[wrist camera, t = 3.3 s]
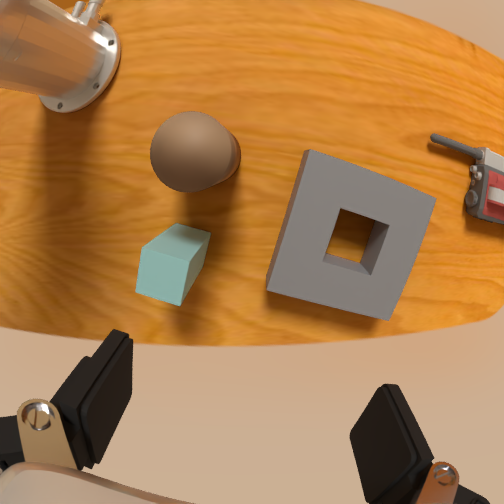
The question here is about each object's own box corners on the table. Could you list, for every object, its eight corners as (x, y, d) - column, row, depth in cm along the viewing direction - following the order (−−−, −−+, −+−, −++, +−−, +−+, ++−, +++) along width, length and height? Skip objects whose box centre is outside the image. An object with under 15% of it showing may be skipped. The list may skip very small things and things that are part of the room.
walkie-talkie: (528, 172, 29) (426, 128, 29) (548, 175, 25) (445, 125, 25) (519, 230, 31) (416, 202, 31) (538, 238, 27) (435, 207, 27)
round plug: (192, 121, 30) (162, 104, 20) (247, 134, 30) (240, 121, 20) (177, 175, 31) (142, 182, 22) (232, 189, 32) (217, 201, 22)
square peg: (176, 223, 33) (142, 247, 23) (211, 232, 33) (189, 261, 23) (169, 256, 34) (135, 292, 24) (202, 266, 34) (180, 306, 24)
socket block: (304, 150, 30) (310, 149, 26) (419, 194, 31) (436, 198, 27) (266, 275, 34) (266, 290, 30) (377, 305, 35) (388, 320, 31)
